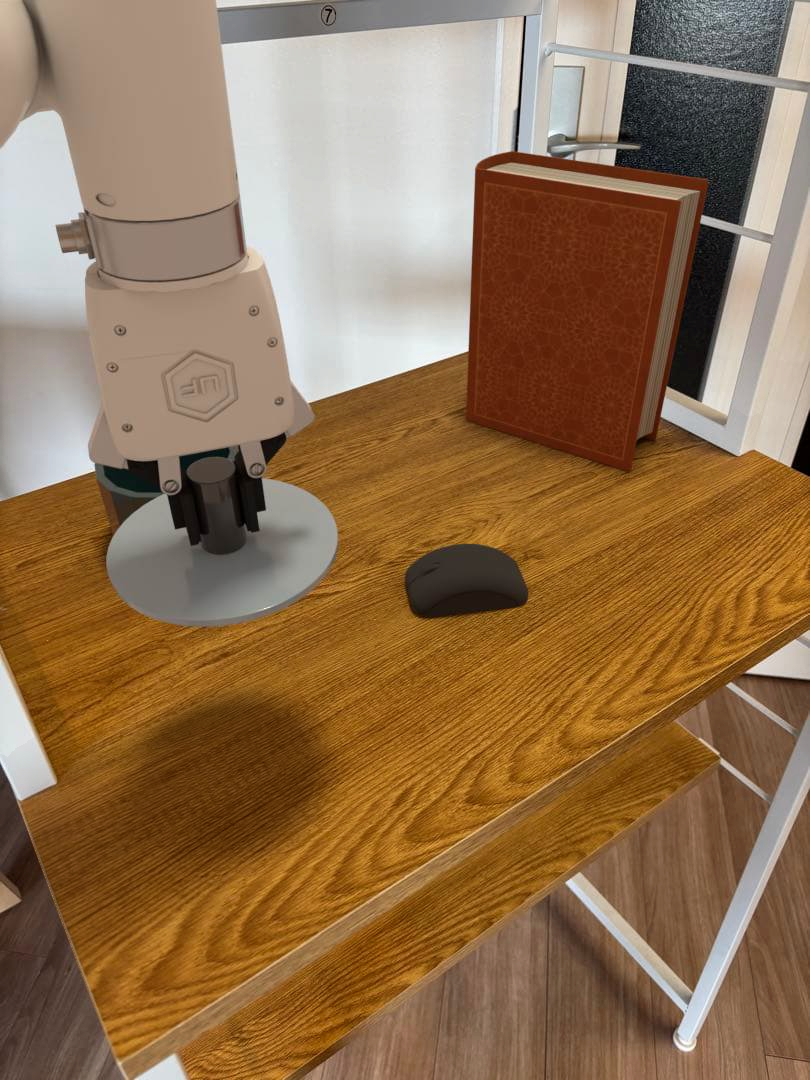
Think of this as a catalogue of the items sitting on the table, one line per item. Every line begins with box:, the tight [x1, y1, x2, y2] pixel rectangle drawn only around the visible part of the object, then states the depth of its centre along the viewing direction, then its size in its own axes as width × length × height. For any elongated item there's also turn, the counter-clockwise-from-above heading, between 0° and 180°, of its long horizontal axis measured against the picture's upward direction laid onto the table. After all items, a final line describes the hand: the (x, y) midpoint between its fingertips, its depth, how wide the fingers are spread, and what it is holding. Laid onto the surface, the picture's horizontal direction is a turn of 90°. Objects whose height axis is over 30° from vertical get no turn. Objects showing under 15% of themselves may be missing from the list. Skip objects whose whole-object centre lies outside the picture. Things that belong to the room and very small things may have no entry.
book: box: [465, 150, 710, 473], centre depth 94 cm, size 23×8×30 cm, turn 56°
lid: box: [105, 457, 340, 628], centre depth 52 cm, size 15×15×7 cm
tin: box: [94, 446, 239, 537], centre depth 84 cm, size 14×14×10 cm
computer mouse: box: [404, 543, 529, 618], centre depth 79 cm, size 6×11×4 cm, turn 99°
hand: (221, 524), depth 53 cm, fingers closed on lid, 3 cm apart
